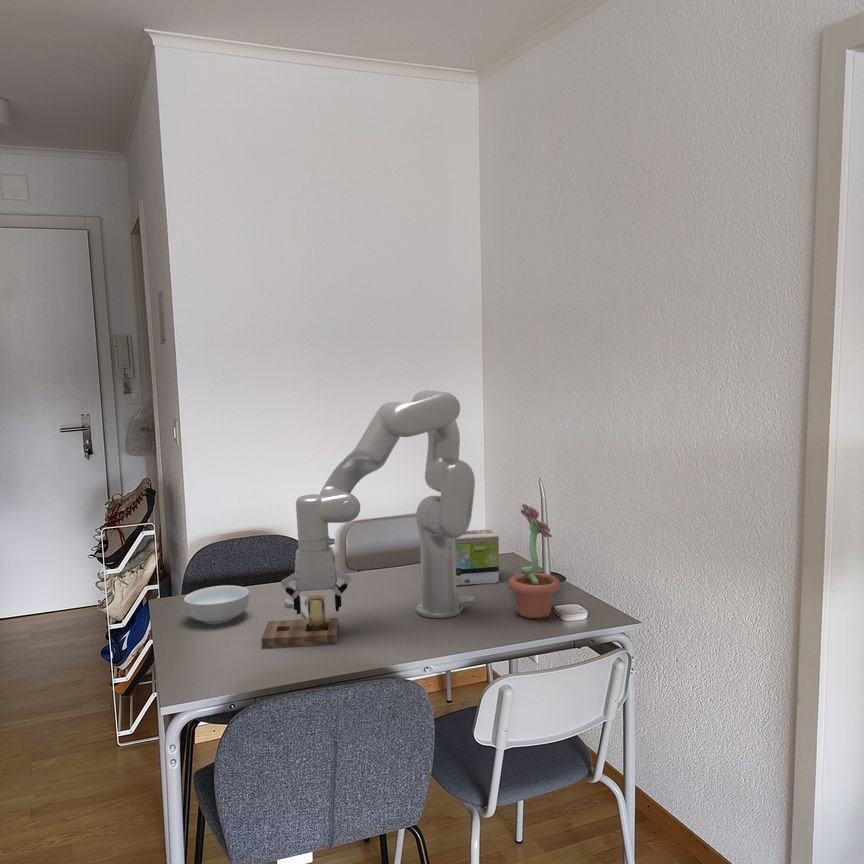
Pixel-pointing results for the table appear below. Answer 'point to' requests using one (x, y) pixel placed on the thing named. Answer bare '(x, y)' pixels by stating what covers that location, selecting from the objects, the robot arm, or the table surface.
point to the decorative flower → (534, 575)
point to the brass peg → (316, 613)
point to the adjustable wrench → (304, 609)
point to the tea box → (477, 557)
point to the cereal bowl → (217, 603)
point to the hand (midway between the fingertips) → (318, 611)
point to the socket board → (298, 634)
